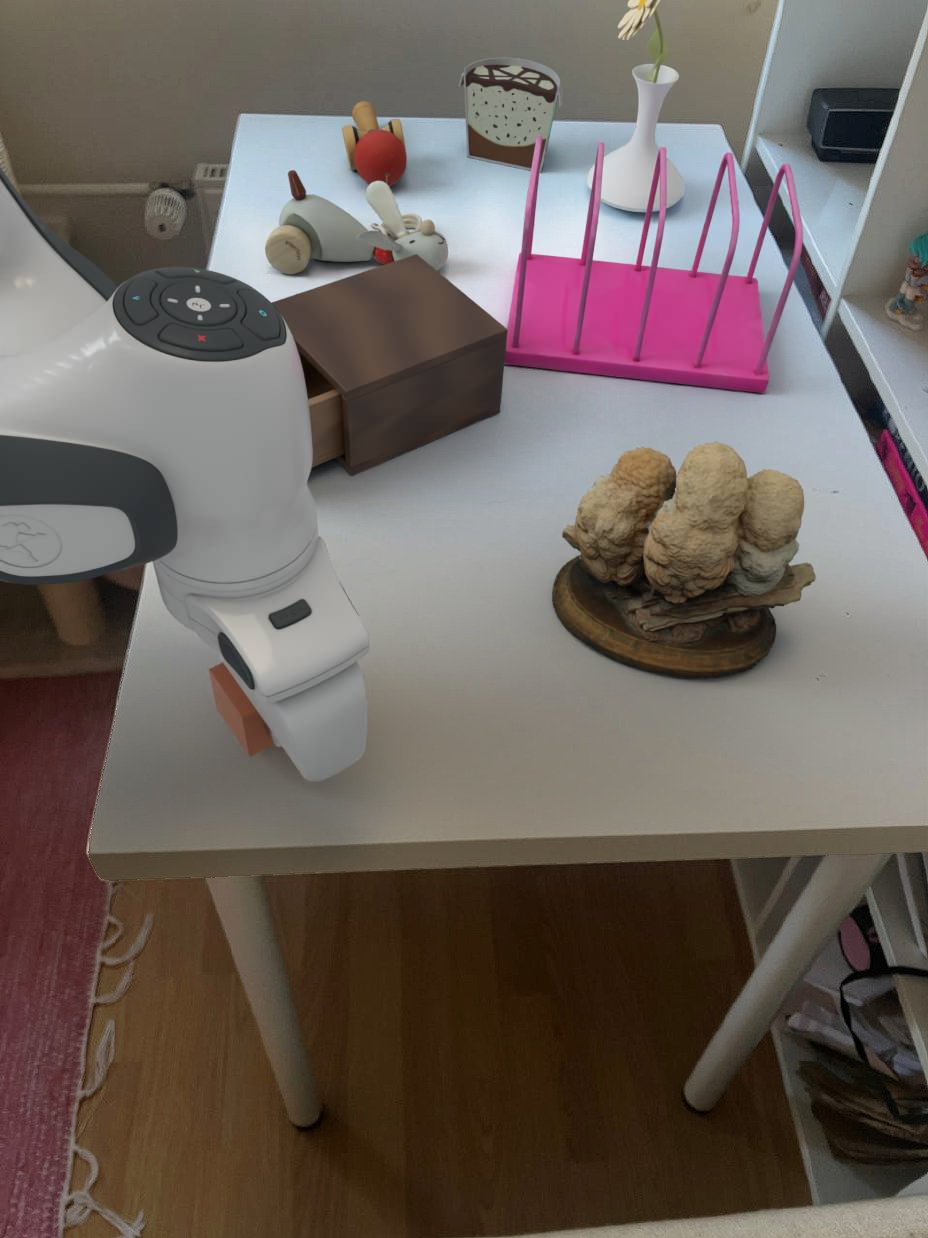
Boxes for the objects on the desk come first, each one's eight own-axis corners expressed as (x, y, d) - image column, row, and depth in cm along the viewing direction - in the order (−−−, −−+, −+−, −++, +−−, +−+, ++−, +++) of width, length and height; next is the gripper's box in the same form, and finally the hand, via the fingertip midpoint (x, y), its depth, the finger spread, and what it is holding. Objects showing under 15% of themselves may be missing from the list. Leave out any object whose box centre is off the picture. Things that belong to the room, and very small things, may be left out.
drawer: (220, 516, 80) (207, 450, 74) (152, 429, 86) (136, 362, 81) (417, 433, 87) (418, 367, 82) (342, 359, 94) (338, 293, 88)
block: (249, 757, 65) (242, 718, 61) (216, 709, 67) (208, 668, 63) (310, 725, 66) (306, 685, 63) (276, 679, 69) (271, 638, 65)
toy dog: (453, 281, 104) (457, 198, 98) (273, 299, 101) (264, 214, 94) (427, 221, 112) (429, 140, 105) (259, 235, 108) (249, 152, 102)
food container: (566, 153, 124) (577, 67, 116) (552, 175, 120) (563, 87, 112) (472, 133, 126) (476, 47, 118) (455, 154, 122) (459, 67, 115)
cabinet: (351, 476, 85) (346, 391, 78) (272, 389, 92) (261, 305, 85) (500, 412, 91) (508, 329, 84) (415, 336, 98) (416, 253, 91)
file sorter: (517, 267, 107) (531, 116, 95) (753, 292, 106) (798, 143, 94) (501, 365, 96) (516, 209, 84) (765, 395, 95) (818, 241, 83)
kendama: (328, 138, 126) (345, 189, 113) (333, 84, 122) (352, 130, 109) (388, 147, 128) (412, 198, 115) (396, 94, 124) (421, 140, 111)
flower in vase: (603, 165, 122) (640, -75, 103) (693, 188, 120) (748, -54, 100) (565, 212, 115) (597, -37, 95) (660, 238, 112) (713, -13, 93)
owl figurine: (788, 586, 79) (865, 414, 66) (780, 704, 72) (865, 537, 59) (565, 537, 81) (596, 361, 68) (535, 647, 74) (563, 474, 61)
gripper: (104, 469, 58) (146, 620, 69) (278, 713, 48) (296, 845, 59) (203, 432, 61) (229, 583, 72) (388, 656, 51) (386, 793, 62)
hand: (261, 703), depth 65 cm, fingers closed on block, 4 cm apart
